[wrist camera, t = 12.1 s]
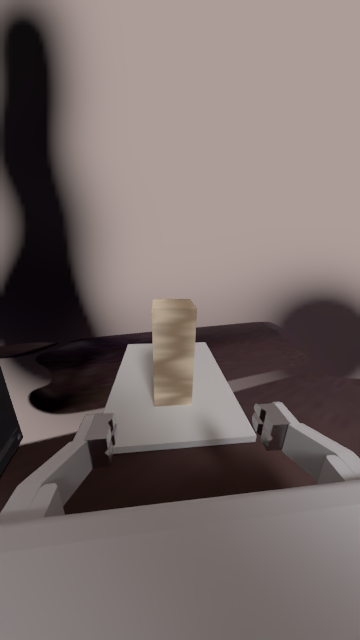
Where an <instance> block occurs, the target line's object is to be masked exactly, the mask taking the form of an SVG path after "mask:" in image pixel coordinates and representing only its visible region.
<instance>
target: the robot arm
mask: <svg viewBox="0 0 360 640" xmlns="http://www.w3.org/2000/svg"><path fill="white" fill-rule="evenodd" d="M254 410H255V411H256V412H255V413H254V414H253V418H252V421H253V426H254V429H255V430H256V432H257V433H258V434H259V435H261V441H262V443H263V445H264V446H265V448H266V450H267V451H274V450H282V451H283V452H284V453H285V454H286V455H287V456H288V457H290V458H291V459H292V460H293V461H294V462H295V463H297V464H298V465H299V466H300V467H301V468H302V469H304V470H305V471H306V472H307V473H308V474H309V475H311V476H312V477H313V478H314V479H315V480H316V481H317V484H316V485H311V486H303V487H295V488H286V489H278V490H270V491H261V492H253V493H245V494H237V495H228V496H220V497H212V498H203V499H195V500H186V501H178V502H170V503H161V504H153V505H144V506H136V507H128V508H119V509H111V510H103V511H94V512H86V513H77V514H69V515H65V513H64V509H63V506H64V505H65V503H66V502H67V501H68V500H69V498H70V497H71V496H72V494H73V493H74V492H75V491H76V489H77V488H78V487H79V486H80V484H81V483H82V482H83V481H84V479H85V478H86V477H87V475H88V474H89V473H90V472H91V470H92V468H97V467H105V466H110V464H111V460H112V456H113V446H114V445H115V444H116V439H117V424H116V423H115V421H116V414H115V413H101V414H87V415H86V416H85V417H84V419H83V421H82V423H81V425H80V427H79V429H78V431H77V433H76V435H75V437H74V440H73V442H69V443H68V444H66V445H65V446H64V447H63V448H62V449H61V450H59V451H58V452H57V453H56V454H55V455H53V456H52V457H51V458H50V459H49V460H48V461H46V462H45V463H44V464H43V465H42V466H40V467H39V468H38V469H37V470H36V471H34V472H33V473H32V474H31V475H30V476H29V477H27V478H26V479H25V480H24V481H23V482H21V483H20V484H19V485H18V486H17V487H16V489H15V491H14V492H13V494H12V495H11V497H10V499H9V500H8V502H7V503H6V505H5V507H4V508H3V510H2V511H1V513H0V640H360V458H359V457H358V456H357V455H356V454H355V453H354V452H352V451H350V450H349V449H347V448H345V447H343V446H341V445H340V444H338V443H336V442H334V441H333V440H331V439H329V438H327V437H326V436H324V435H322V434H320V433H319V432H317V431H315V430H313V429H311V428H310V427H308V426H306V425H304V424H303V423H299V422H298V421H297V420H296V418H295V417H294V416H293V415H292V414H291V413H290V411H289V410H288V409H287V408H286V407H285V406H284V404H283V403H281V402H272V403H271V402H270V403H257V404H255V406H254Z"/></svg>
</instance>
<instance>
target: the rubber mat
mask: <svg viewBox="0 0 360 640" xmlns="http://www.w3.org/2000/svg"><path fill="white" fill-rule="evenodd" d="M103 413H115V414H116V421H115V423H116V424H117V439H116V444H115V445H114V446H113V454H117V453H129V452H141V451H152V450H164V449H176V448H188V447H199V446H211V445H223V444H234V443H246V442H255V441H256V434H255V432H254V430H253V428H252V427H251V425H250V423H249V421H248V419H247V417H246V416H245V414H244V412H243V410H242V408H241V407H240V405H239V403H238V401H237V399H236V397H235V396H234V394H233V392H232V390H231V388H230V386H229V385H228V383H227V381H226V379H225V377H224V376H223V374H222V372H221V370H220V368H219V366H218V365H217V363H216V361H215V359H214V357H213V355H212V354H211V352H210V350H209V348H208V346H207V345H206V343H205V342H202V343H195V353H194V372H193V391H192V404H190V405H173V406H156V407H154V375H153V344H128V346H127V349H126V352H125V355H124V357H123V360H122V363H121V366H120V368H119V371H118V374H117V377H116V379H115V382H114V385H113V387H112V390H111V393H110V396H109V398H108V401H107V404H106V407H105V409H104V412H103Z"/></svg>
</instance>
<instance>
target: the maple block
mask: <svg viewBox="0 0 360 640" xmlns="http://www.w3.org/2000/svg"><path fill="white" fill-rule="evenodd" d="M196 314H197V308H196V307H195V305H194V304H193V302H192V301H191V300H190V299H153V305H152V336H153V375H154V407H156V406H173V405H190V404H192V391H193V372H194V353H195V334H196Z"/></svg>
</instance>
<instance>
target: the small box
mask: <svg viewBox="0 0 360 640" xmlns="http://www.w3.org/2000/svg"><path fill="white" fill-rule="evenodd" d="M22 438H23V435H22V433H21V430H20V426H19V424H18V420H17V417H16V414H15V411H14V408H13V405H12V402H11V399H10V395H9V392H8V389H7V386H6V383H5V379H4V376H3V373H2V370H1V367H0V475H1V474H2V472H3V470H4V469H5V467H6V465H7V464H8V462H9V461H10V459H11V457H12V455H13V454H14V453H15V452H16V450H17V448H18V446H19V444H20V442H21V440H22Z"/></svg>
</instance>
